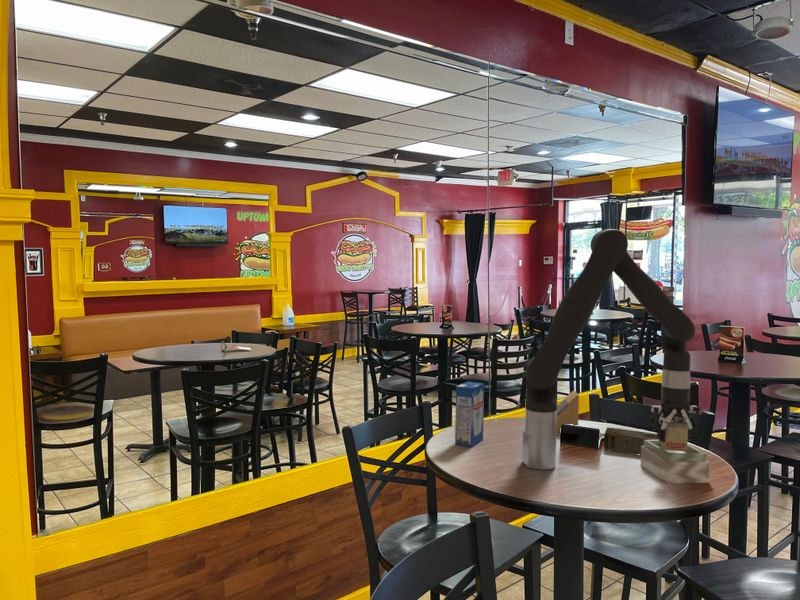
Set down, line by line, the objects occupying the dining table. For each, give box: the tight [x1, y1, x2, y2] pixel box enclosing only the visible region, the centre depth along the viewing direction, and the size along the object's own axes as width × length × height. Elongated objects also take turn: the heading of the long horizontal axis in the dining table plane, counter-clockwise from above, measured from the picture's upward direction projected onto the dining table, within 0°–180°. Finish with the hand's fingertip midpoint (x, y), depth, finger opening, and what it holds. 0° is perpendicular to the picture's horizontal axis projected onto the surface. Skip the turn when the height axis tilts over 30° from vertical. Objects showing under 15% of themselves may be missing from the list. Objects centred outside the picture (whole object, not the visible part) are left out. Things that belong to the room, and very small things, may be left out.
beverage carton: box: [603, 426, 659, 456], centre depth 185 cm, size 8×19×7 cm, turn 65°
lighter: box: [661, 416, 688, 451], centre depth 164 cm, size 7×4×10 cm, turn 79°
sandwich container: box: [556, 389, 580, 433], centre depth 208 cm, size 9×15×15 cm, turn 83°
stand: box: [640, 440, 710, 484], centre depth 164 cm, size 12×15×8 cm
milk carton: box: [454, 381, 485, 448], centre depth 193 cm, size 10×6×20 cm, turn 150°
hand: (673, 441), depth 164 cm, fingers closed on lighter, 6 cm apart
